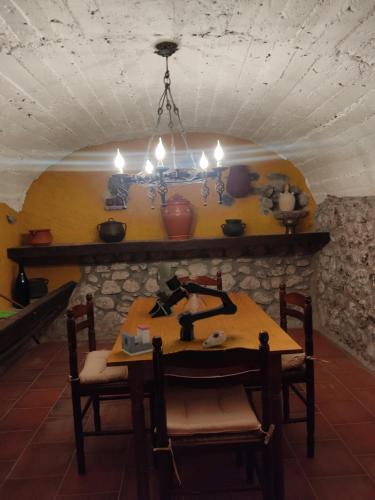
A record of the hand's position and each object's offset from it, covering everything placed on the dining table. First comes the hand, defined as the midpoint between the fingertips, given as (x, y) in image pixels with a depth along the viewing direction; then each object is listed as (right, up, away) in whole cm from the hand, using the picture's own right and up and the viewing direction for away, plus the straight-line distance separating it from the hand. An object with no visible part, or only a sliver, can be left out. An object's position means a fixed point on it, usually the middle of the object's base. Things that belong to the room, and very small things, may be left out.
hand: (150, 315), depth 212 cm
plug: (-5, -14, -10) cm, 18 cm away
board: (-5, -15, -10) cm, 19 cm away
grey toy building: (-4, -14, -10) cm, 18 cm away
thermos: (+6, -9, +60) cm, 61 cm away
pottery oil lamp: (+32, -14, -7) cm, 36 cm away
